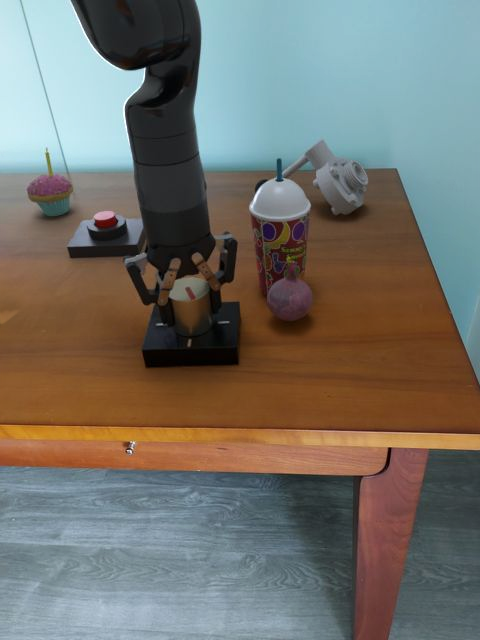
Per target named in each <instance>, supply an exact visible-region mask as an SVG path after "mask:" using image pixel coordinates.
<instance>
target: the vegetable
mask: <svg viewBox="0 0 480 640" xmlns="http://www.w3.org/2000/svg"><path fill="white" fill-rule="evenodd" d="M286 260H287V263H288V265H287V267H288V275H287V277H285V278H283V279H281V280H279V281H277V282H275V283H274V284H273V285H272V286H271V288H270V289H269V292H268V296H266V304H267V307H268V310H269V311H270V313H271V314H272V315H274V317H276V318H277V319H279V320H283V321H285V322H293V321H294V322H295V321H297V320H300V319H302V318H303V317H305V316H306V315H307V314H308V313H309V311H310V310H311V308H312V305H313V300H314V295H313V292H312V290H311V288H310V286H309V285H308V283H306V282H305V281H304V282H303V281H302V280H300V279H298V278H296V270H295V264H294V260H293V262H292V260H291V258H290V257H287V259H286Z"/></svg>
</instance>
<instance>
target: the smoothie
mask: <svg viewBox="0 0 480 640" xmlns="http://www.w3.org/2000/svg"><path fill="white" fill-rule="evenodd" d="M282 160H283V159H282V158H280V157H279V158H276V177H277V178H275V177H274V178H275V179H274V178H272V179H268V180H269V181H267V182H265V183H264V184H263V185H261V187H260V188H259V189H258V190H257V192H256V194H255V193H254V196H253V199H252V200H251V201H250V203H249V206H248V208H249V213H250V221H251V230H252V238H253V246H254V254H255V261H256V263H255V264H256V270H257V271H256V272H257V279H258V285H259V288H261V290H262V291H263V294H264V295H265V296H266V297H267V296H268V292H269V289H270V288H271V286H272V285H273V284H274V283H275V282H277V281H279V280H281V279H283V278H285V277H287V275H288V267H287V265H288V263H287V260H286V259H287V257H290V258H291V260H292V262H293V260H294V264H295V270H296V278H298V279H300V280H302V281H303V282H305V274H306V261H307V250H308V240H309V239H308V238H309V228H310V216H311V208H312V204H311V202H310V200H309V199H308V198H307V196H306V194H305V191H304V190H303V189H302V187H301V186H300V185H299V184H298V183H297V182H295V181H294V180H292V179H289V178H287V179H285V178H282V172H283V163H282V162H283V161H282Z"/></svg>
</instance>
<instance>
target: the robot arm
mask: <svg viewBox="0 0 480 640" xmlns="http://www.w3.org/2000/svg"><path fill="white" fill-rule="evenodd" d="M69 2H70V4H71V6H72V9H73V11H74V13H75V15H76V18H77V20H78V23H79V25H80V27H81V30H82V31H83V34H84V35H85V38H86V39H87V41H88V43H89V44H90V46H91V48H92V49H93V50H94V52H96V54H97V55H98V56H100V57H101V58H102V60H103V61H105V62H106V63H108V64H109V65H111V66H113V67H114V68H116V69H118V70H119V71H124V72H137V71H140V70H143V69H144V71H143V72H144V73H143V80H142V83H141V85H140V86H139V87H138V88H137V89H136V90H134V92H133V93H132V94H130V96H129V97H128V98H127V99H126V100H125V102H124V104H123V119H124V125H125V131H126V135H127V140H128V145H129V149H130V154H131V161H132V174H133V175H132V176H133V183H134V186H135V192H136V197H137V202H138V207H139V212H140V216H141V217H140V218H142V222H143V227H144V232H145V237H146V239H145V242H146V243H145V247H144V251H143V252H141V253H140V255H138V256H129V255H128V256H123V257H122V263H123V265H124V267H125V270H126V272H127V274H128V275H129V277H130V280H131V283H132V284H133V286H134V289H135V290H136V292H137V294H138V296H139V298H140V301H141V303H142V304H143V305H144V306H145V307H148V306H150V305H152V304H153V305H154V304H156V305H157V310H158V315H159V318H160V320H161V322H162V323H163V325H165V324H167V326H168V328H170V327H173V326H174V323H173V318H172V313H171V307H170V303H169V302H168V298H169V294H170V291H171V290H172V289H173V286H174V282H175V281H176V280H179V279H182V278H186V277H187V276H196V275H199V274H201V275H202V277H203V278H204V279H205V281H206V282H207V283H208V285H209V290H210V299H211V307H212V314H213V315H214V314H218V313H219V311H218V309H221V307H222V302H223V301H222V292H221V291H222V289H221V288H222V286H224V285H225V284H231V283H232V282H234V279H235V271H236V262H237V255H238V254H237V253H238V246H239V245H238V244H239V243H238V240H237V239H236V238H235V237H234V236H233V234H231V232H230V231H227V230H226V231H224V232H222V234H221V235H213V234H212V231H211V223H210V222H211V221H210V214H209V206H208V205H209V203H208V197H207V189H208V186H207V181H206V179H205V171H204V167H203V163H202V158H201V154H200V148H199V147H200V146H199V138H198V129H197V122H196V115H195V105H196V98H197V90H198V83H199V74H200V73H199V72H200V63H201V52H202V40H203V39H202V38H203V37H202V36H203V35H202V31H203V30H202V22H201V15H200V9H199V7H198V4H197V1H196V0H69ZM215 248H216V250H218V252H219V260H218V270H217V271H215V272H213V271H212V269H211V268H210V266H209V265H208V263H207V262H209V259H210V257H211V255H212V253H213V252H214V250H215ZM147 264H149V265H151V266H152V267H154V268H155V269H156V271H155V281H154V284H153V285H154V286H153V288H148V287H147V285H146V283H145V281H144V279H143V276H144V275H145V273H146V271H147V269H146V266H147Z"/></svg>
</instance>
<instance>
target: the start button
mask: <svg viewBox="0 0 480 640" xmlns="http://www.w3.org/2000/svg"><path fill="white" fill-rule="evenodd" d="M115 214H116V212H114V211H112V210H103V211H98V212H97V213H95V214H94V216H93V218H94V220H95V224H96V227H97V228H108V227H112V226H114V225H116V224H117V220H116V216H115Z"/></svg>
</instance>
